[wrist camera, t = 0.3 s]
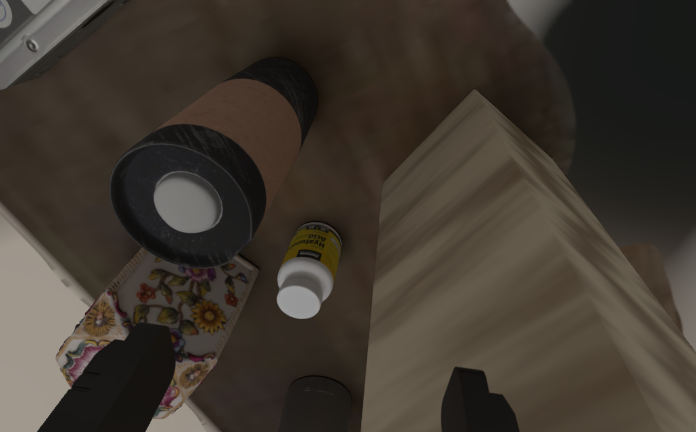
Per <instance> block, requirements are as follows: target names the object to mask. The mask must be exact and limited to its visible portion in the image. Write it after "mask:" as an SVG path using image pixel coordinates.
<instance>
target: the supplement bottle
mask: <svg viewBox="0 0 696 432" xmlns="http://www.w3.org/2000/svg"><path fill="white" fill-rule="evenodd" d="M341 248H342V243H341V239H340V237H339V235H338V233H337V232H336V231H335V230H334V229H333V228H332V227H330V226H328V225H326V224H324V223H319V222H311V223H307V224H304V225H302V226H301V227H300V228H298V229H297V231H296V232H295V234H294V236H293V238H292V241H291V243H290V245H289V248H288V250H287V253H286V255H285V258H284V260H283V262H282V265H281V267H280V270H279V273H278V285H279V288H280V290H279V293H278V296H277V303H278V305H279V307H280V309H281V310H282V311H283V312H284V313H285V314H287V315H289V316H291V317H294V318H298V319H306V318H310V317H312V316H314V315H315V314H317V312H318V311H319V309H320V306H321V303H322V301H324V300H325V299H326V298H327V297H328V296H329V295H330V293H331V291H332V288H333V284H334V280H335V275H336V271H337V266H338V262H339V258H340V253H341Z"/></svg>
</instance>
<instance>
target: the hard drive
mask: <svg viewBox="0 0 696 432" xmlns="http://www.w3.org/2000/svg"><path fill="white" fill-rule="evenodd" d="M130 1H131V0H0V90H2V89H5V88H8V87H11V86H14V85H17V84H20V83H23V82H26V81H29V80H32V79H35V78H38V77H40V76H41V75H43V74H44V73H45V72H46V71H47V70H49V69H50V68H51V67H52V66H53V65H55V64H56V63H57V62H58V61H59V60H61V59H62V58H63V57H64V56H65V55H67V54H68V53H69V52H70V51H71V50H73V49H74V48H75V47H76V46H77V45H79V44H80V43H81V42H82V41H83V40H85V39H86V38H87V37H88V36H89V35H90V34H92V33H93V32H94V31H95V30H96V29H98V28H99V27H100V26H101V25H102V24H104V23H105V22H106V21H107V20H108V19H110V18H111V17H112V16H113V15H114V14H116V13H117V12H118V11H119V10H120V9H122V8H123V7H124V6H125V5H126V4H128V3H129V2H130Z"/></svg>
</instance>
